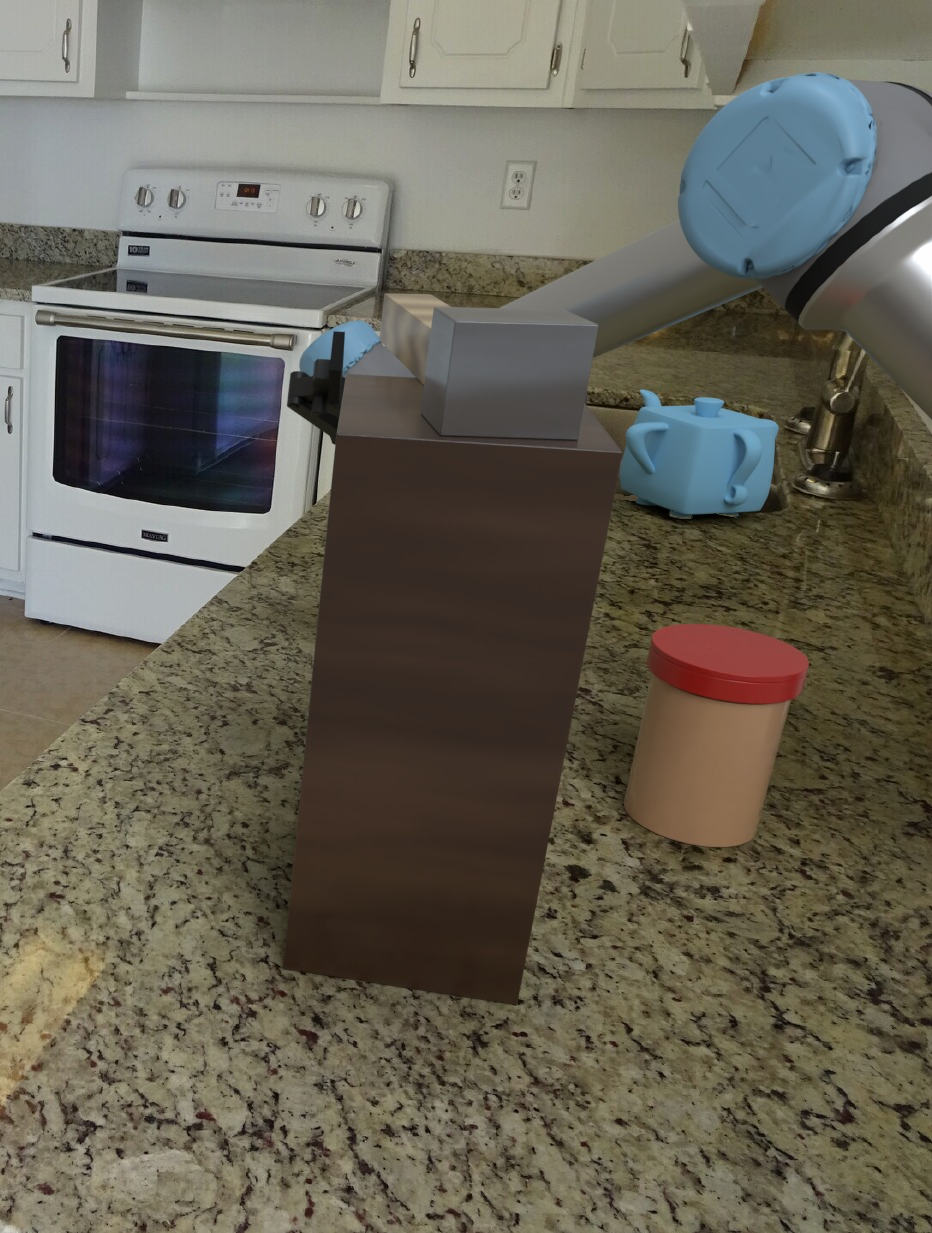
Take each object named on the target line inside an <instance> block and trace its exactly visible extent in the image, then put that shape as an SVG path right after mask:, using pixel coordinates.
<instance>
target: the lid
mask: <svg viewBox="0 0 932 1233" xmlns="http://www.w3.org/2000/svg"><path fill="white" fill-rule="evenodd" d="M809 662H810V661H809V659H808V657H807V656H806V655H805V654H804V653H803V652H802V651H801V650H800V649H798V648H797V647H795V646H793V645H791V644H789V643H787V642H785V641H782V640H781V639H778V638H775V637H772V636H769V635H767V634H764V633H760V632H757V631H753V630H748V629H744V628H738V627H732V626H726V625H720V624H710V623H680V624H672V625H667V626H664V627H661V628H659V629H657V630H656V631H654V632H653V634H652V636H651V640H650V644H649V649H648V654H647V659H646V666H647V668H648V670H649V671H650V672H651V673H653V674H654V675H655V676H656V677H658V678H659V679H661V680H663V681H664V682H666V683H668V684H670V685H672V686H675V687H677V688H679V689H682V690H685V691H687V692H690V693H694V694H697V695H701V696H704V697H709V698H712V699H718V700H724V701H730V702H736V703H749V704H771V703H780V702H785V701H789V700H791V701H792V700H794V699H796V698H798V697H799V696H800V694H802V692H803V688H804V686H805V682H806V678H807V674H808V671H809V666H810V663H809Z"/></svg>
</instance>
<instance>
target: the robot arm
mask: <svg viewBox="0 0 932 1233" xmlns="http://www.w3.org/2000/svg"><path fill="white" fill-rule="evenodd" d="M684 161H685V162H684V164H683V167H682V170H681V174H680V184H679V195H678V197H677V213H678V219H676V220H674V221H673V222H671V223H669V224H666V225H665V226H662V227H660V228H657V229H656V230H654V231H652V232H650V233H648V234H645V235H644V236H641V237H640V238H638V239H637V240H636V239H635V240H634V241H632V242H629V243H628V244H626V245H624V246H622V247H620V248H618V249H616V250H613V251H612V252H610V253H607V254H605V255H603V256H601V257H599V258H597V259H595V260H594V261H592V262H590V263H588V264H585V265H584V266H582V267H581V266H580V267H579V268H578V269H575V270H572V271H571V272H569V273H567V274H565V275H563V276H561V277H559V278H557V279H555V280H553V281H551V282H549V283H547V284H545V285H543V286H541V287H539V288H537V289H535V290H533V291H531V292H528V293H526V294H525V295H523V296H521V297H519V298H516V299H515V300H512V301H510V302H508V303H507V304H504V305H502V306H501V307H499V308H510V309H551V310H566V311H568V312H571V313H573V314H575V315H577V316H580V317H582V318H584V319H586V320H589V321H591V322H593V323H595V324H598V331H597V337H596V342H595V348H594V354H593V359H594V358H597V357H600V356H601V355H604V354H606V353H609V352H612V351H614V350H616V349H619V348H621V347H623V346H626V345H628V344H631V343H633V342H635V341H637V340H639V339H642V338H644V337H645V338H646V337H647V336H650V335H652V334H654V333H657V332H659V331H662V330H664V329H667V328H669V327H672V326H674V325H675V324H676V325H677V324H678V323H680V322H683V321H685V320H688V319H690V318H693V317H695V316H697V315H700V314H702V313H705V312H707V311H709V310H712V309H714V308H718V307H719V306H721V305H724V304H726V303H728V302H732V301H734V300H736V299H738V298H741V297H743V296H745V295H748V294H751V293H752V292H755V291H757V290H759V289H762V288H763V289H764V290H765V291H766V292H767V293H768V294H769V295H770V296H771V298H773V299H774V300H775V301H776V302H777V303H778V304H779V305H780V306H781V307H782V308H783V310H785V311H786V312H787V313H788V314H789V315H790V316H791V317H792V318H793V319H794V320H795V322H796V323H798V325H799V326H800V327H801V328H803V329H804V330H805V331H842V332H845V333H846V334H847V335H848V336H849V337H850V338H851V339H852V340H853V341H854V342H855V343H856V344H857V345H858V347H860V348H861V349H862V350H863V351H864V353H866V354H867V356H868V357H870V359H871V360H873V362H874V363H875V364H876V365H877V366H878V367H880V369H881V370H882V371H883V372H884V373H885V374H886V375H887V376H888V377H889V379H891V380H892V381H893V382H894V383H895V384H896V385H897V386H898V387H899V388H900V389H901V390H902V391H903V392H904V394H906V395H907V397H909V398H910V399H911V400H912V402H914V404H916V405H917V407H919V409H920V410H921V411H922V412H923V413H924V414H925V415H926V416H927V417H928V418H929V419H930V420H931V421H932V92H930V91H928V90H927V89H925V88H921V87H919V86H916V85H914V84H908V83H902V82H899V81H898V82H897V81H878V80H877V81H876V80H863V79H850V78H849V79H848V78H847V79H846V78H843V77H840V76H838V75H835V74H831V73H827V72H818V71H817V72H816V71H815V72H813V71H812V72H809V73H806V72H805V73H799V74H794V75H791V76H785V77H779V78H775V79H771V80H768V81H765V82H762V83H760V84H757V85H755V86H753V87H751V88H749V89H747V90H745V91H743V92H742V93H740V94H738V95H737V96H736V97H734V98H733V99H731V100H730V101H729V102H728V103H726V104H725V105H724V106H723V107H721V108H720V109H719V110H718V111H717V112H716V113H715V114H714V115H713V117H711V119H710V120H709V121H708V122H707V124H706V125H705V126H704V127H703V129H702V130H701V131H700V133H699V134H698V136H697V138H696V139H695V140H694V143H692V146H691V148H690V150H689V152H688V154H687V156H686V159H685V160H684ZM379 339H380V335H378V333H376V331H375V329H374V328H373V326H372V325H371V324H369V323H368V322H366V321H364V320H350V321H347V322H344V323H341V324H338V325H337V326H335V327H333V328H331V329H329V330H327V331H326V332H324V333H323V334H321V335H320V336H318V337H316V338H315V340H313V341H312V342H311V343H310V344H309V345H308V346H307V347H306V348H305V350H303V352H302V353H301V356H300V359H299V365H298V367H299V370H297V371H295V370H294V371H291V372H290V374H289V381H288V382H289V383H288V391H287V400H286V407H287V408H288V409H290V410H291V411H293V412H294V413H295V414H297V415H298V416H300V417H301V418H303V419H304V420H306V421H307V422H308V423H310V424H312V425H313V426H314V427H316V428H317V429H319V430H320V431H321V432H323V433H325V434H326V435H327V436H328V437H329V438H330V441H331V444H332V445H334V446H335V443H336V434H337V428H338V421H339V415H340V409H341V403H342V397H343V390H344V384H345V378H346V374H355V375H374V376H393V377H412V378H416V377H415V376H414V375H413V374H412V373H411V372H410V371H409V370H408V369H407V368H406V367H405V366H404V365H403V364H402V363H401V362H400V360H399V359H398V358H397V357H396V356H395V355H394V354H393V353H392V352H391V351H390V350H389V349H388V348H387V347H386V346H385V345H384V344H383V343H382V342H381V341H380V340H379ZM587 399H588V392H587V393H586V399H585V404H586V405H587Z"/></svg>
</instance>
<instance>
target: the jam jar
mask: <svg viewBox="0 0 932 1233" xmlns="http://www.w3.org/2000/svg"><path fill="white" fill-rule="evenodd" d="M649 678H650V679H649V682H648V687H647V691H646V697H645V702H644V705H643V710H642V715H641V719H640V720H641V721H640V725H639V729H638V734H637V738H636V743H635V748H634V752H633V757H632V761H631V766H630V771H629V776H628V780H627V784H626V790H625V795H624V798H623V799H624V800H623V807H624V810H625V812H626V813H627V815H628V816H629V817H630V818H631V819H632V820H633V821H635V822H636V823H637V824H638V825H640V826H641V827H643V828H644V829H647V830H648V831H651V832H652V833H654V834H657V835H659V836H662V837H664V838H667V839H670V840H672V841H676V842H680V843H684V844H688V845H693V846H694V845H695V846H697V847H708V848H730V847H731V848H732V847H736V846H740V845H744V844H747V843H749V842H750V841H752V840H753V839H754V838H755V836H756V834H757V832H758V828H759V825H760V824H759V823H760V820H761V816H762V813H763V810H764V805H765V801H766V798H767V794H768V791H769V790H768V789H769V786H770V782H771V778H772V774H773V771H774V766H775V763H776V760H777V757H778V752H779V748H780V745H781V741H782V738H783V733H784V729H785V725H786V722H787V718H788V714H789V711H790V706H791V703H792V699H791V700H789V701H785V702H780V703H771V704H749V703H736V702H730V701H724V700H718V699H712V698H709V697H704V696H701V695H697V694H694V693H690V692H687V691H685V690H682V689H679V688H677V687H675V686H672V685H670V684H668V683H666V682H664V681H663V680H661V679H659V678H658V677H656V676H655V675H654V674H653V673H652V672H651V674H650V677H649Z"/></svg>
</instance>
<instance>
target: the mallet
mask: <svg viewBox="0 0 932 1233" xmlns="http://www.w3.org/2000/svg"><path fill="white" fill-rule="evenodd" d="M597 331H598V324H595V323H593V322H591V321H589V320H586V319H584V318H582V317H580V316H577V315H575V314H573V313H571V312H568V311H566V310H551V309H510V308H500V307H469V306H468V307H467V306H465V307H464V306H463V307H462V306H450V305H449V304H447V303H446V302H444V301H442V300H441V299H440V298H438V297H436V296H434V295H433V294H431V293H430V294H427V293H386V292H385V293H384V295H383V303H382V313H381V321H380V331H379V336H380V339H379V340H380V341H381V342H382V344H383V346H386V347H387V348H388V349H389V350H390V351H391V352H392V353H393V354H394V355H395V356H396V357H397V358H398V359H399V360H400V362H401V363H402V364H403V365H404V366H405V367H406V368H407V369H408V370H409V371H410V372H411V373H412V374H413V375H414V376H415V377H416V378H417V379H418V380H419V381H420V382H421V383H422V384H423V385H424V389H423V397H422V405H421V414H422V415H423V416H424V417H425V418H426V420H427V421H428V422H429V423H430V424H431V425H432V426H433V428H434V429H435V430H436V431H437V432H438V433H439V434H440V435H441V436H463V437H494V438H525V439H555V440H578V439H579V433H580V427H581V422H582V416H583V410H584V405H585V399H586V393H587V394H588V387H589V382H590V375H591V370H592V365H593V359H594V358H593V354H594V348H595V342H596V337H597Z"/></svg>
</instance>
